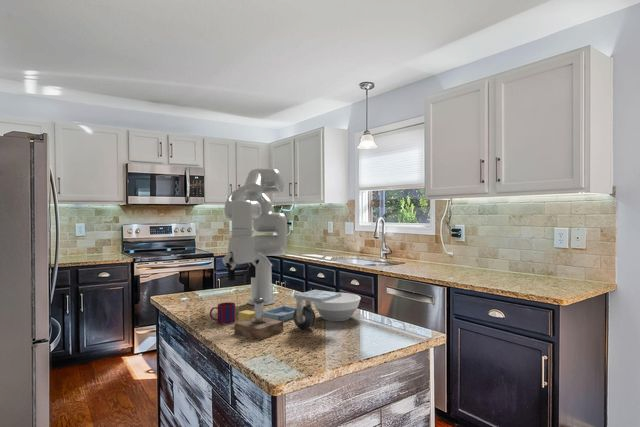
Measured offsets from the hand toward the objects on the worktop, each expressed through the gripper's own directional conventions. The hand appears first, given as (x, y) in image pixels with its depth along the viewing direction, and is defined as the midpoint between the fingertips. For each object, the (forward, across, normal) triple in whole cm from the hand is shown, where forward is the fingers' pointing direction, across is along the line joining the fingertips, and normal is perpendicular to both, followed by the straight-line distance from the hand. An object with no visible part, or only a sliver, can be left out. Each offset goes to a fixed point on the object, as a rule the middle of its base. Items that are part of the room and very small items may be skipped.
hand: (242, 278), depth 152 cm
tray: (+17, -19, +2) cm, 26 cm away
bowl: (+18, -31, +20) cm, 41 cm away
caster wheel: (+18, -13, +24) cm, 33 cm away
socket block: (+18, +2, +12) cm, 21 cm away
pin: (+18, +2, +12) cm, 21 cm away
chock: (+18, -2, +1) cm, 18 cm away
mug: (+18, +2, -10) cm, 20 cm away
